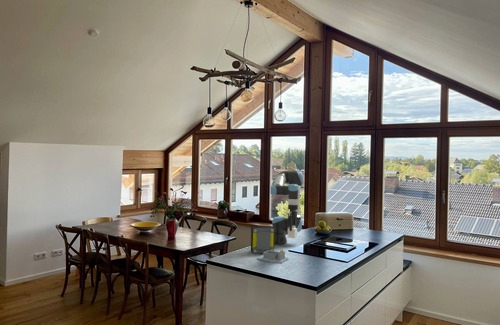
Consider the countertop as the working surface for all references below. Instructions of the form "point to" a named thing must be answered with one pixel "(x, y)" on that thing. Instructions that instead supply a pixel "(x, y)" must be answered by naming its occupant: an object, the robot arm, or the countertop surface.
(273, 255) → the header board
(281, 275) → the countertop surface
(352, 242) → the countertop surface
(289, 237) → the plug
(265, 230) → the electrical component
